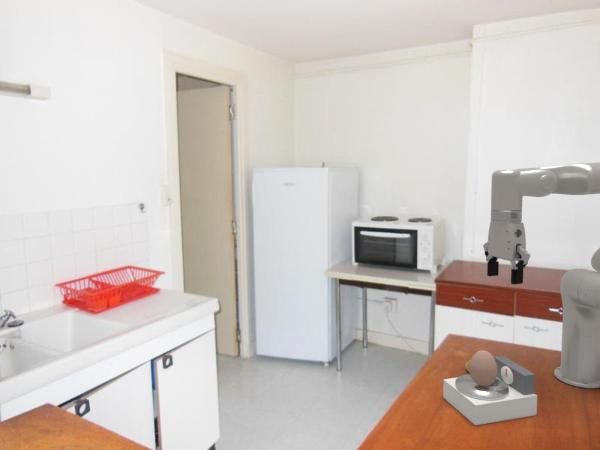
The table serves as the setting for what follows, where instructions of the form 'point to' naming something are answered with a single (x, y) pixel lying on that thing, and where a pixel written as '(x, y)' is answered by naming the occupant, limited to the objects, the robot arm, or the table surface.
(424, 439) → the table surface
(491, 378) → the egg
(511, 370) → the kitchen scale
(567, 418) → the table surface
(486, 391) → the scale pan
